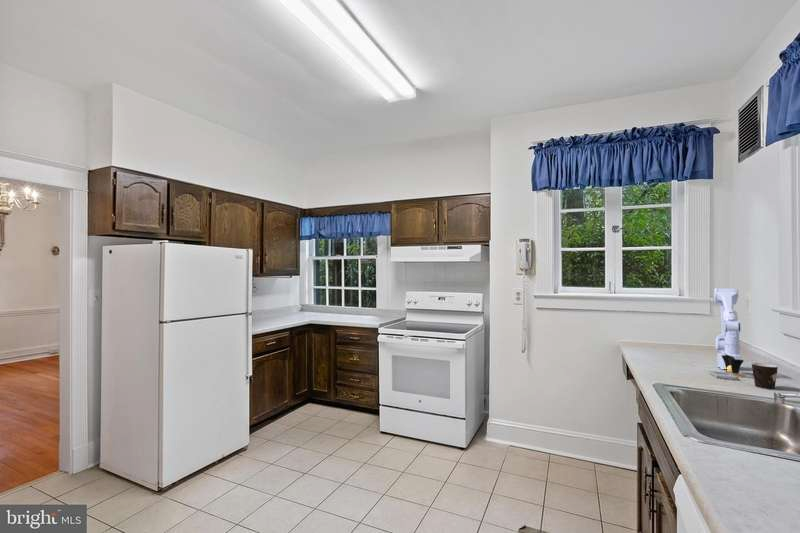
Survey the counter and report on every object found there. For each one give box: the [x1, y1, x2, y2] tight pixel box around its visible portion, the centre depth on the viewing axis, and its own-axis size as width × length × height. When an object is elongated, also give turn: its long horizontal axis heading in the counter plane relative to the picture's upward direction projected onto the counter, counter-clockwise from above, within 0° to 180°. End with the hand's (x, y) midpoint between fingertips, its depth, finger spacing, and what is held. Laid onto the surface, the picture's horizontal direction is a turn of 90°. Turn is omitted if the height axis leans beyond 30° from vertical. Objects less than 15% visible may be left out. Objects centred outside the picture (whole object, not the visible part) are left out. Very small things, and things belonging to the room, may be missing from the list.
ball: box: [727, 365, 733, 373], centre depth 194 cm, size 4×4×4 cm
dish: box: [721, 370, 744, 378], centre depth 194 cm, size 8×8×1 cm
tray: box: [709, 370, 739, 381], centre depth 189 cm, size 10×8×2 cm
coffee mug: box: [751, 362, 779, 390], centre depth 172 cm, size 12×9×10 cm
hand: (732, 371), depth 194 cm, fingers open, 7 cm apart
